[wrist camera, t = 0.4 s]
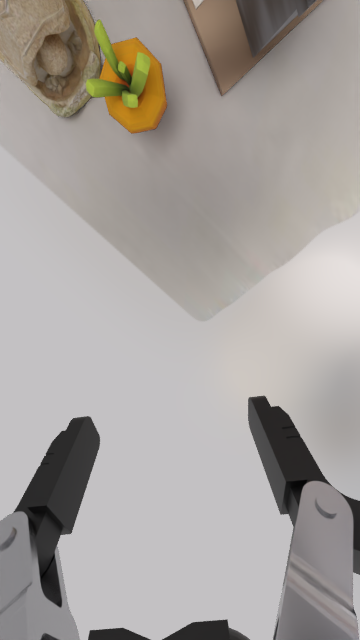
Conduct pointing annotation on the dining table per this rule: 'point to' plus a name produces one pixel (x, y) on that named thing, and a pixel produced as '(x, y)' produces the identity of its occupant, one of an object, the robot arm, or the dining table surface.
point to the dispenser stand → (242, 32)
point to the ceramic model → (51, 50)
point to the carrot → (129, 83)
